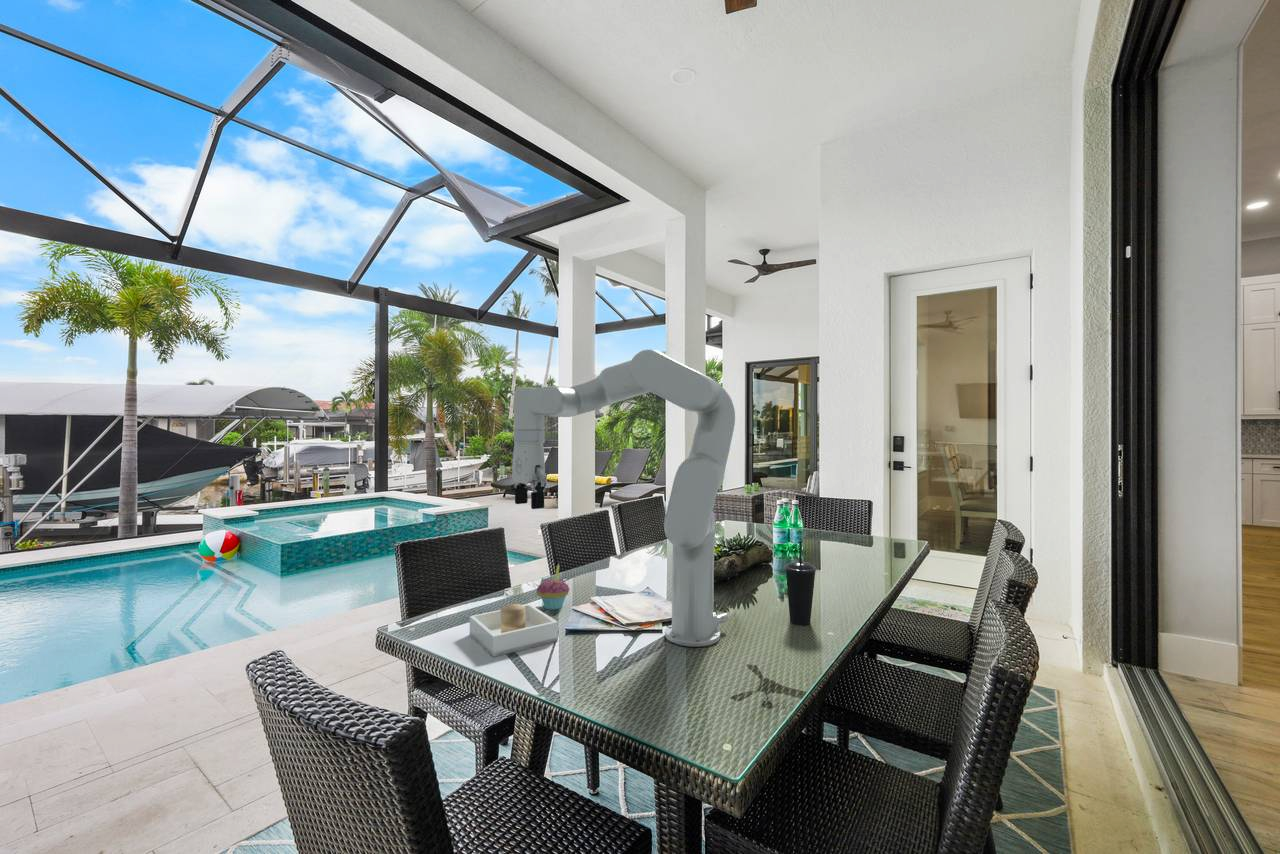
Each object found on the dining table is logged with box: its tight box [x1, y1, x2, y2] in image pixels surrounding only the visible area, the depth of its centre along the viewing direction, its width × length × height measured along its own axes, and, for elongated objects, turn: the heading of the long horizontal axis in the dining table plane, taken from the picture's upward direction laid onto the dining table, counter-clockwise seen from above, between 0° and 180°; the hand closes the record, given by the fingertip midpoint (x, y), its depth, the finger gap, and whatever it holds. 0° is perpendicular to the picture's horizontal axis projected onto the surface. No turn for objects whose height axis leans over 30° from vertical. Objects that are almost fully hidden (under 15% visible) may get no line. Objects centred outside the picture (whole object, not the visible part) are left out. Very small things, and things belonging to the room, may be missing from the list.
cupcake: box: [536, 562, 570, 610], centre depth 148 cm, size 9×8×12 cm
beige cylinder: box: [500, 603, 525, 633], centre depth 127 cm, size 5×5×6 cm
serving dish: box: [469, 603, 559, 658], centre depth 127 cm, size 15×15×4 cm
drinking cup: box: [783, 540, 817, 626], centre depth 138 cm, size 8×8×20 cm
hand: (529, 505), depth 139 cm, fingers open, 9 cm apart
